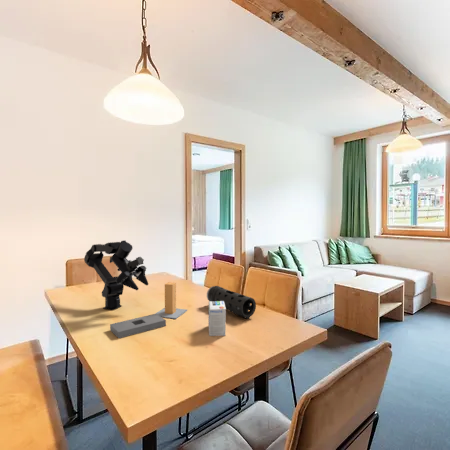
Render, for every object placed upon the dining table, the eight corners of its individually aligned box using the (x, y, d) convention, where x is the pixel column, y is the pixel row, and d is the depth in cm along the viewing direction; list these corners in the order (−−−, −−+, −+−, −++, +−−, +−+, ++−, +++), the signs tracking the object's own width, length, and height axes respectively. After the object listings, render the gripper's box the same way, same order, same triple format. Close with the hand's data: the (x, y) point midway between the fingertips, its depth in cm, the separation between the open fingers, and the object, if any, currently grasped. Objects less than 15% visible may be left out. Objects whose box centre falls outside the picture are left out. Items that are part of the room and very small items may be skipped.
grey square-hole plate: (110, 330, 118) (110, 324, 118) (155, 319, 130) (155, 313, 130) (118, 338, 110) (118, 332, 110) (165, 325, 123) (165, 320, 123)
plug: (164, 313, 137) (164, 284, 136) (168, 310, 140) (168, 282, 140) (172, 314, 136) (172, 284, 135) (176, 311, 139) (175, 282, 139)
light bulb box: (208, 325, 123) (208, 300, 123) (224, 325, 124) (224, 300, 123) (209, 336, 112) (209, 309, 112) (226, 335, 113) (226, 308, 112)
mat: (152, 316, 134) (152, 315, 134) (165, 308, 146) (165, 307, 146) (175, 319, 130) (175, 318, 130) (187, 310, 142) (187, 309, 142)
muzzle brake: (241, 322, 128) (241, 299, 127) (205, 306, 149) (205, 286, 149) (256, 317, 133) (256, 295, 133) (219, 302, 155) (219, 283, 155)
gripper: (121, 254, 129) (143, 280, 127) (142, 249, 147) (162, 272, 145) (106, 271, 132) (127, 296, 129) (129, 264, 150) (148, 286, 147)
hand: (143, 287), depth 138 cm, fingers open, 9 cm apart
